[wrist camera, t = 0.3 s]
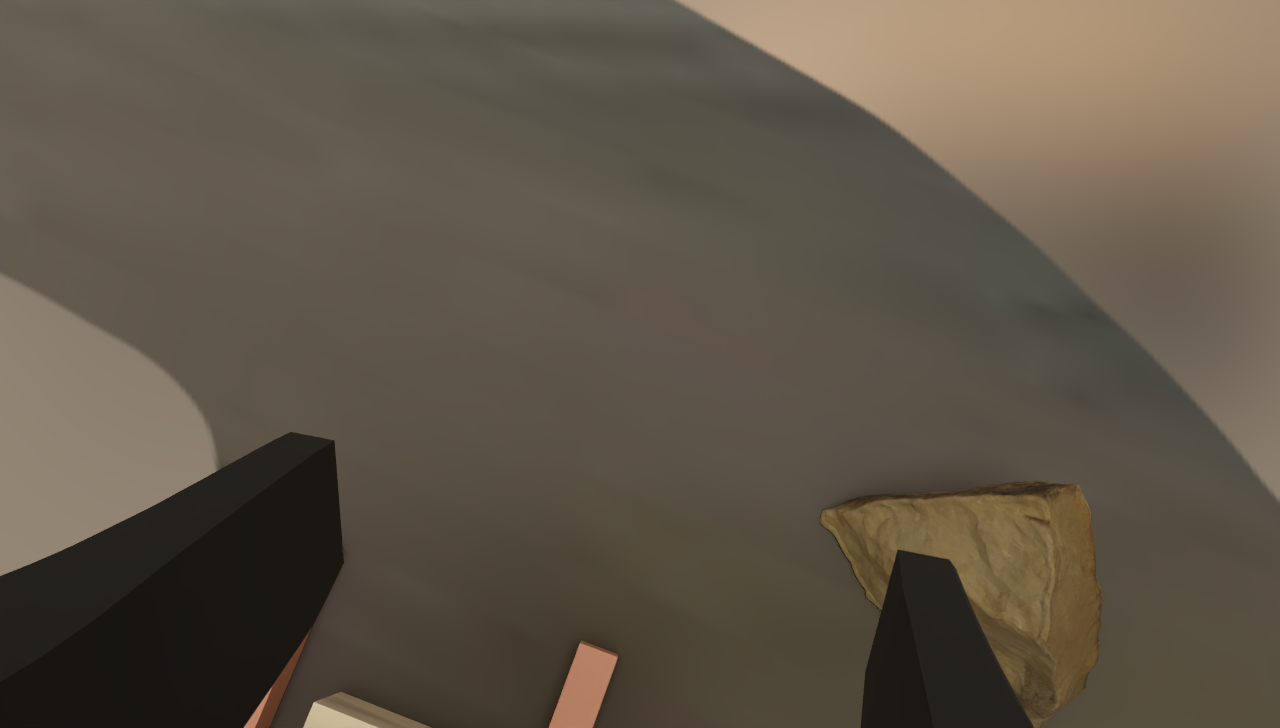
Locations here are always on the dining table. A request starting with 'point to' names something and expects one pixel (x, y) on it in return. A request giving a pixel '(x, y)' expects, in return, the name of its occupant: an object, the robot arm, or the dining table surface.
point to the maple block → (354, 714)
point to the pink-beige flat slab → (570, 714)
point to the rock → (997, 573)
